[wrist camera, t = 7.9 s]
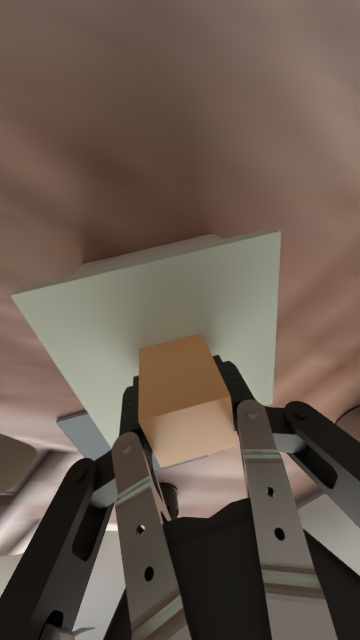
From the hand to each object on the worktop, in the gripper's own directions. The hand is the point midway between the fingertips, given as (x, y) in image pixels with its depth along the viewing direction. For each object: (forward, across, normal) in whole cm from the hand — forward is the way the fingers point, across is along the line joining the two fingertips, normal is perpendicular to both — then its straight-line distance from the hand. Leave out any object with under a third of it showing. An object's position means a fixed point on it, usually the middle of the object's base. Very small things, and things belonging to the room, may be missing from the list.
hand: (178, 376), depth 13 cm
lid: (+2, 0, 0) cm, 2 cm away
